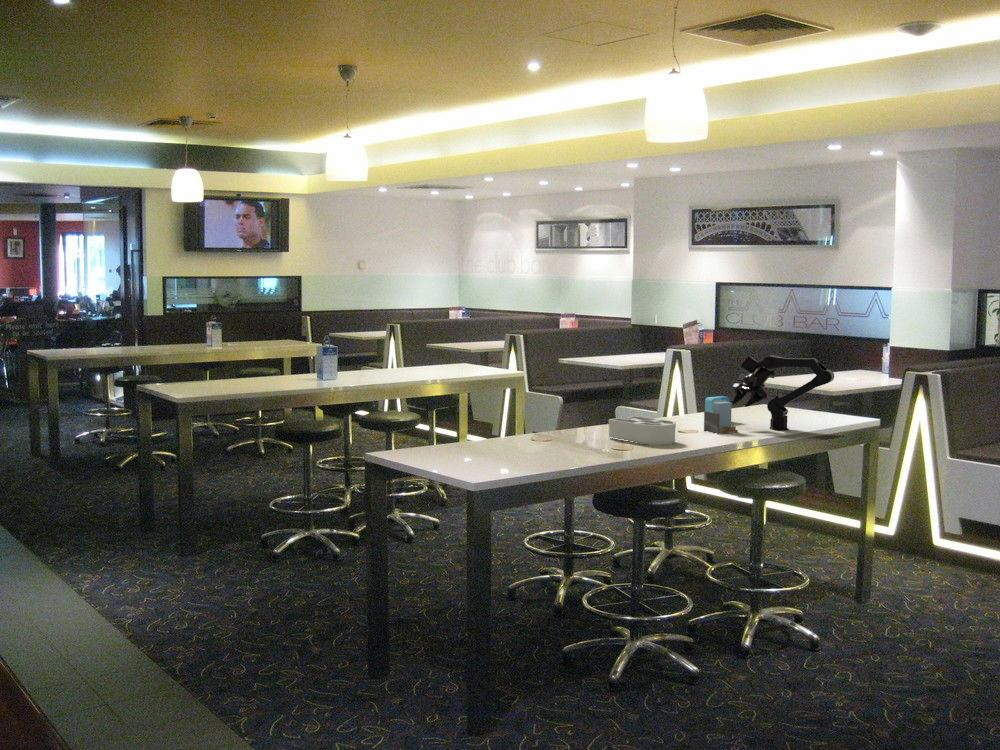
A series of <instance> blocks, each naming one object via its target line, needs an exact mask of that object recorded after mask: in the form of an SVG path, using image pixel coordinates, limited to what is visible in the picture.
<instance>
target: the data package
mask: <svg viewBox="0 0 1000 750" xmlns="http://www.w3.org/2000/svg"><path fill="white" fill-rule="evenodd" d="M715 402H730V397H729V396H724V395H718V396H711V397H710V396H708V397H706V398H705V401H704V411H709V412H713V403H715Z"/></svg>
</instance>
